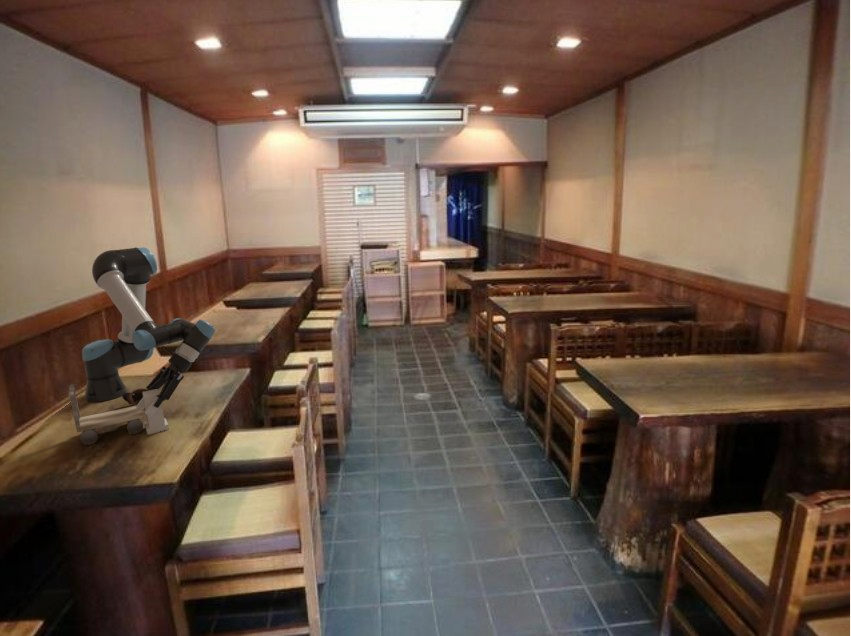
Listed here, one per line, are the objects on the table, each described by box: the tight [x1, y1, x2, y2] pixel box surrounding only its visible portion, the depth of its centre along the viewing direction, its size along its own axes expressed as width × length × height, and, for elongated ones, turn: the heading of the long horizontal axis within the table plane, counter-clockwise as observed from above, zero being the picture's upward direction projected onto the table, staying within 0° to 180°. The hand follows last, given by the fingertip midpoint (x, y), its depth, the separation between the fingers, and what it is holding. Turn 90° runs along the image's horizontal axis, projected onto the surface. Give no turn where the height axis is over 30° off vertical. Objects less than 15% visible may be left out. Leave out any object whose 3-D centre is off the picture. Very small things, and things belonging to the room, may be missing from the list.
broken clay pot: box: [121, 387, 147, 407], centre depth 211 cm, size 12×10×8 cm
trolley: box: [68, 383, 144, 446], centre depth 185 cm, size 13×20×19 cm, turn 123°
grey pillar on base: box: [143, 389, 170, 436], centre depth 189 cm, size 7×7×14 cm
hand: (143, 411), depth 186 cm, fingers open, 8 cm apart
